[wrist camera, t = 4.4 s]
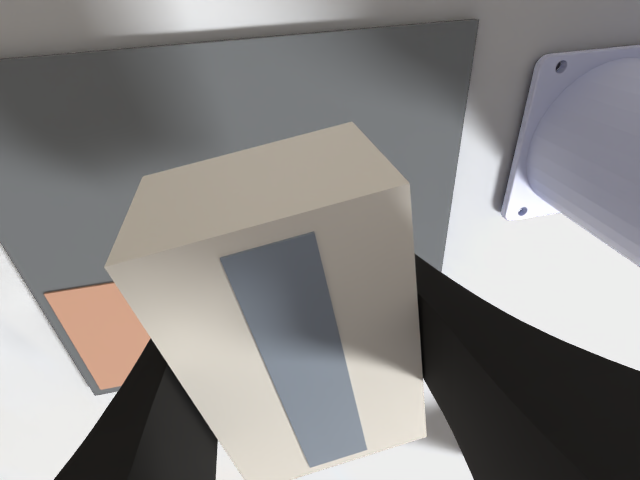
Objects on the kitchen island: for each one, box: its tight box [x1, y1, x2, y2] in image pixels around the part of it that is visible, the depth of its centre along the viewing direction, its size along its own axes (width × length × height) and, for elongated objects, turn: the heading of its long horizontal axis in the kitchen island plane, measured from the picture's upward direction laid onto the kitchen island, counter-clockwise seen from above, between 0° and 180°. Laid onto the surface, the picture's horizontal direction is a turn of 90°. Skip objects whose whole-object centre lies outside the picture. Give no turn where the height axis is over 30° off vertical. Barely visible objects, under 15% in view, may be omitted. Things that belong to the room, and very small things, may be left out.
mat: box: [0, 19, 479, 396], centre depth 19 cm, size 20×17×1 cm
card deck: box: [104, 122, 427, 480], centre depth 10 cm, size 5×8×4 cm, turn 11°
